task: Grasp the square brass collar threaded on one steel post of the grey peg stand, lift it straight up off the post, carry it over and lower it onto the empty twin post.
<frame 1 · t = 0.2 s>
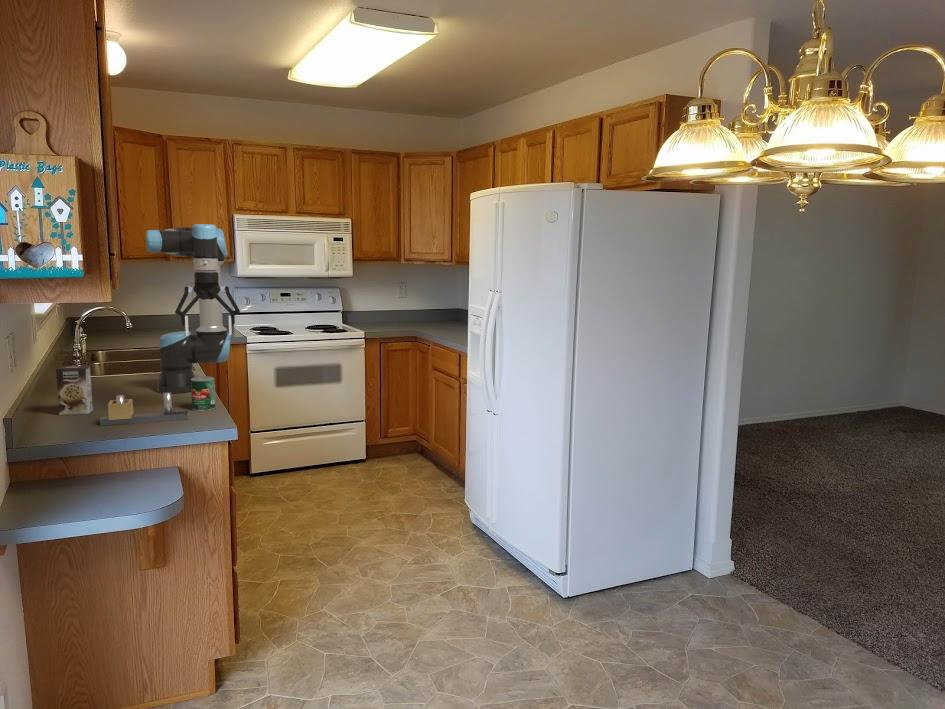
hand: (209, 335, 228), 28 cm above the counter, fingers open, 13 cm apart
cookie box: (76, 413, 233), on the counter
canned tomato: (204, 409, 241), on the counter
grey peg stand: (145, 421, 223), on the counter
collar: (121, 416, 220), point 2 cm above the counter, touching grey peg stand
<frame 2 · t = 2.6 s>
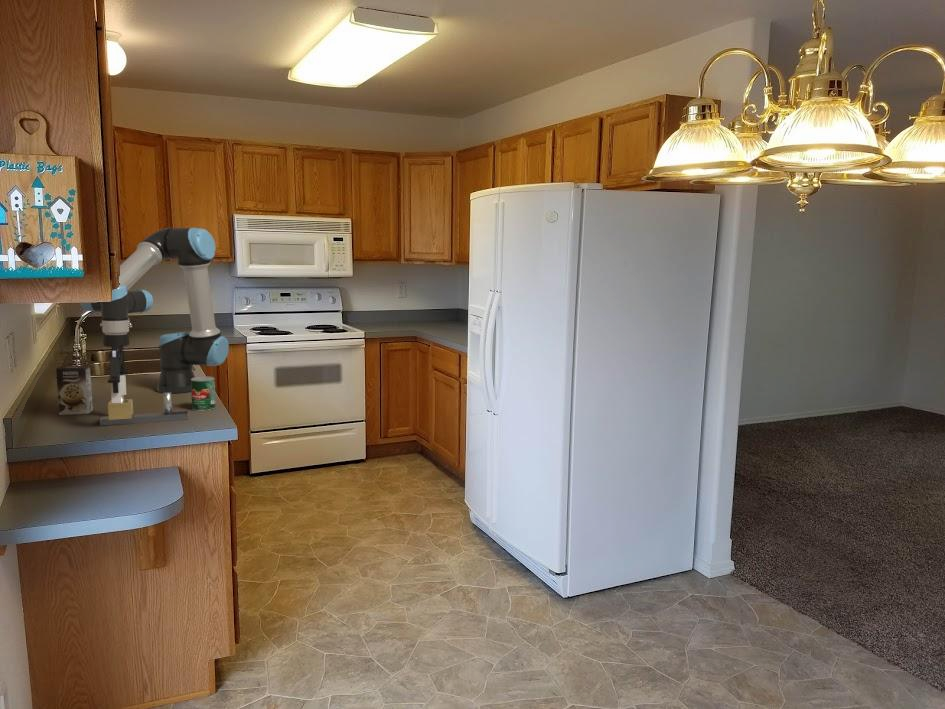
hand: (119, 398, 219), 8 cm above the counter, fingers open, 13 cm apart
nothing on the counter moved.
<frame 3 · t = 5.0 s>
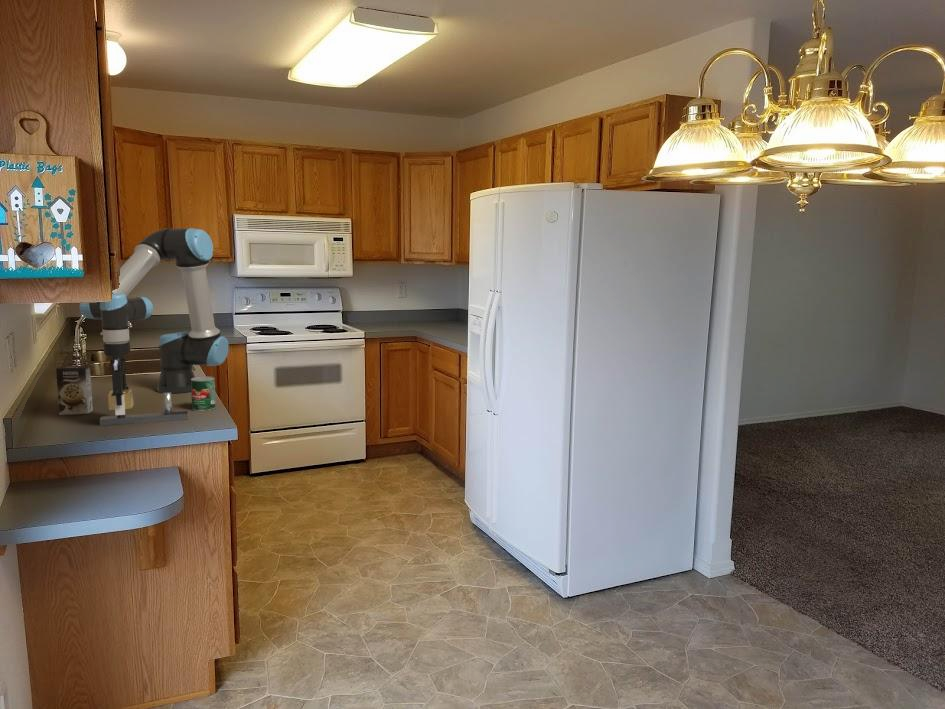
hand: (121, 412, 220), 4 cm above the counter, fingers closed on collar, 6 cm apart
collar: (121, 406, 220), point 5 cm above the counter, touching gripper
everything else where it was.
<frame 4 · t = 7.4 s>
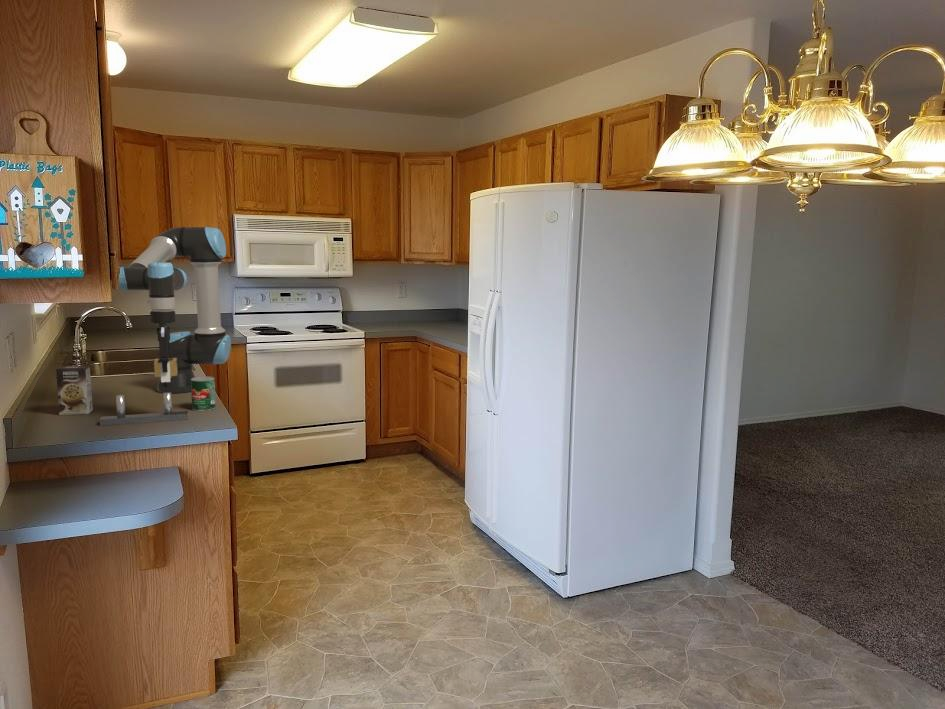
hand: (166, 379, 223), 13 cm above the counter, fingers closed on collar, 6 cm apart
collar: (166, 374, 223), point 15 cm above the counter, touching gripper
everything else where it was.
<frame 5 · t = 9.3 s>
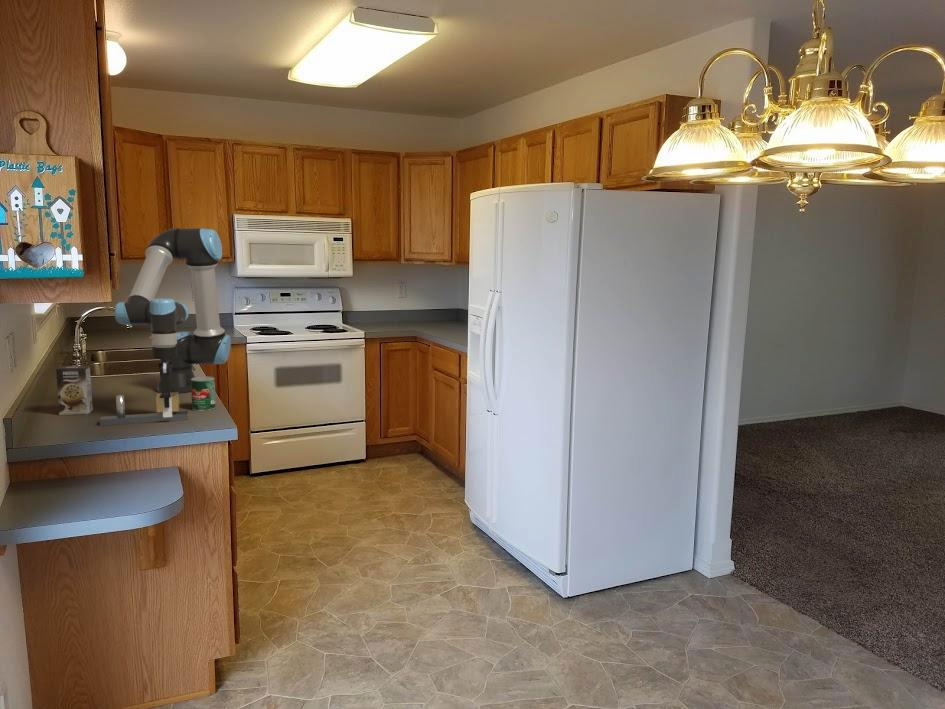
hand: (168, 414, 225), 2 cm above the counter, fingers closed on collar, 6 cm apart
collar: (168, 409, 225), point 3 cm above the counter, touching gripper
everything else where it was.
when the fingers open (0 cm above the counter, at t = 10.0 s): collar stays where it is, resting on grey peg stand.
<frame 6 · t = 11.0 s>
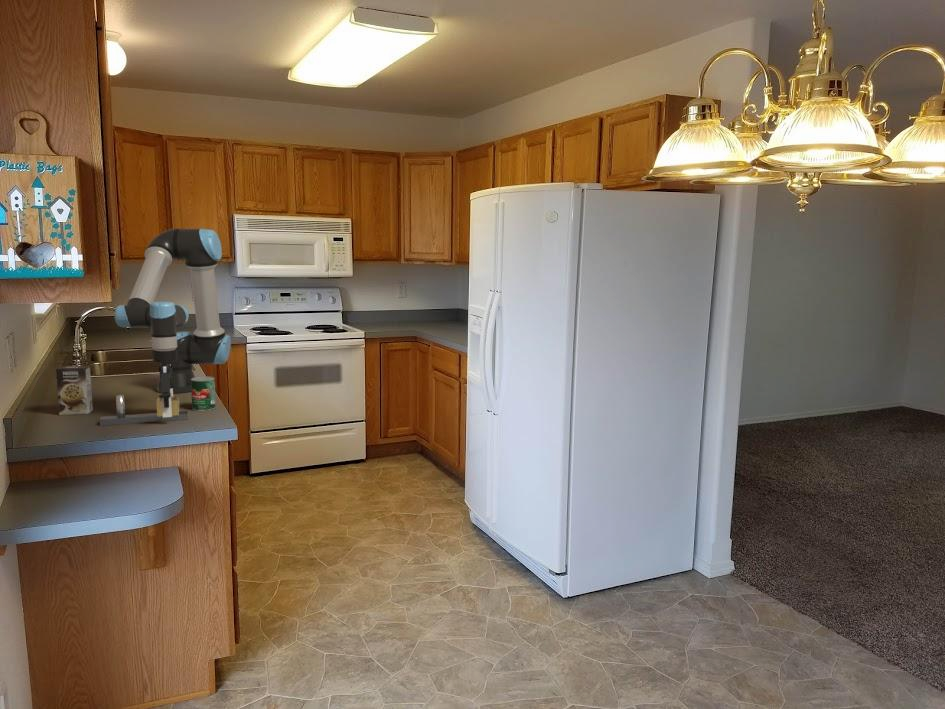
hand: (168, 412, 225), 2 cm above the counter, fingers open, 13 cm apart
collar: (168, 413, 225), point 2 cm above the counter, touching grey peg stand
everything else where it was.
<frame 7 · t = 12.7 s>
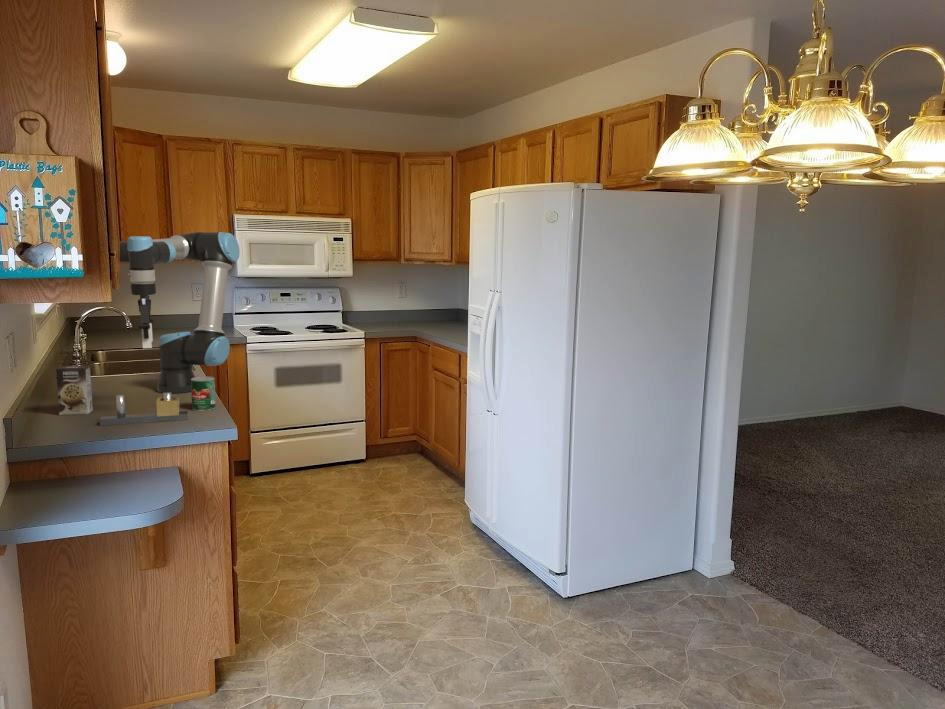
hand: (148, 344, 231), 24 cm above the counter, fingers open, 13 cm apart
nothing on the counter moved.
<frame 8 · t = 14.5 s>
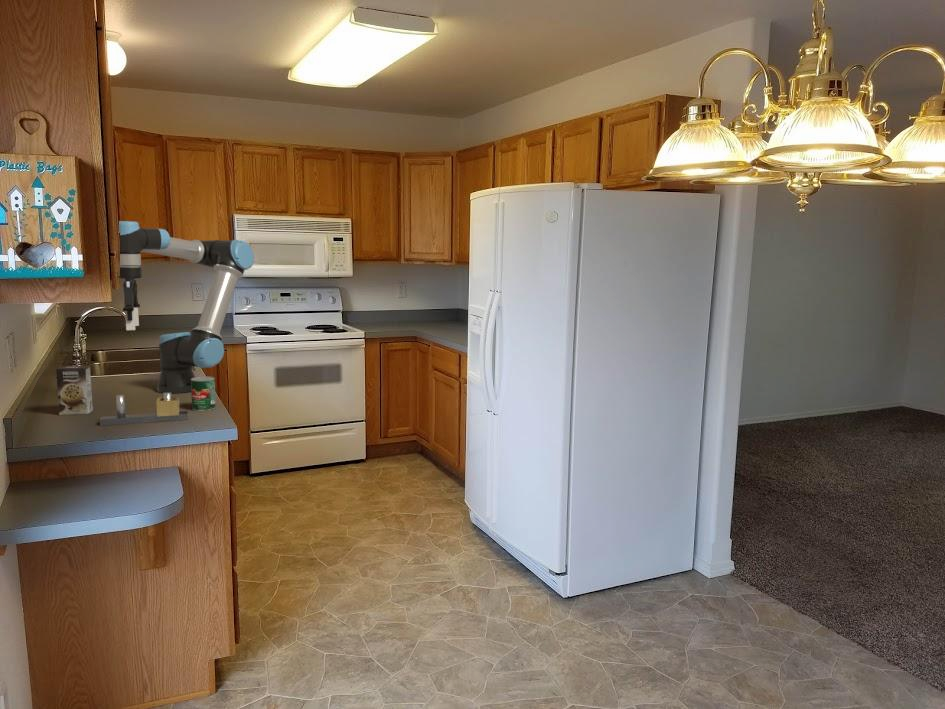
hand: (132, 328, 236), 29 cm above the counter, fingers open, 13 cm apart
nothing on the counter moved.
at the end: collar 0.1 cm from the target spot, point 2.0 cm above the counter; the gripper is holding nothing; collar moved 14.1 cm from its start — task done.
